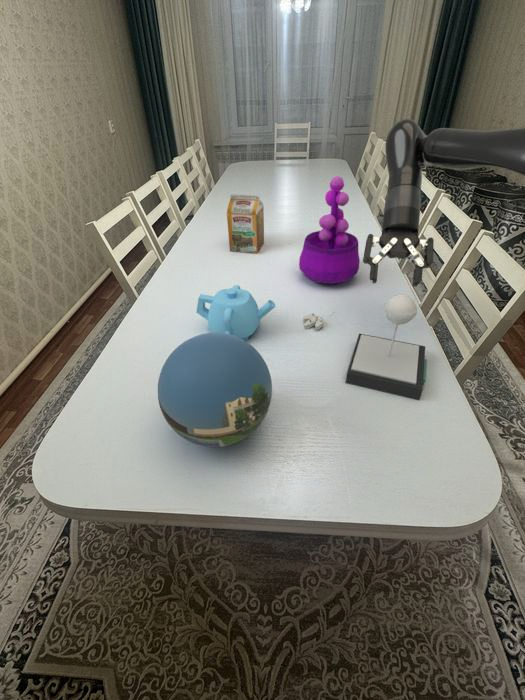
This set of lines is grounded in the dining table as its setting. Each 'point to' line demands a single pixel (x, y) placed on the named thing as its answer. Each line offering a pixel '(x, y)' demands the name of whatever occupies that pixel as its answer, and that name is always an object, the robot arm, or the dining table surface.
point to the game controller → (313, 321)
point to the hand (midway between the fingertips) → (394, 283)
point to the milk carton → (245, 223)
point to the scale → (388, 366)
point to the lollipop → (399, 312)
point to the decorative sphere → (214, 389)
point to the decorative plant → (331, 243)
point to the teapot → (233, 312)
